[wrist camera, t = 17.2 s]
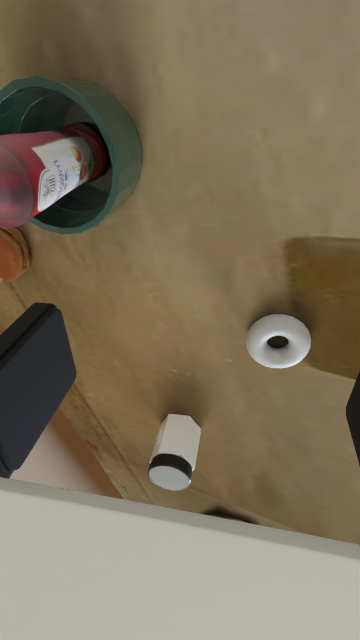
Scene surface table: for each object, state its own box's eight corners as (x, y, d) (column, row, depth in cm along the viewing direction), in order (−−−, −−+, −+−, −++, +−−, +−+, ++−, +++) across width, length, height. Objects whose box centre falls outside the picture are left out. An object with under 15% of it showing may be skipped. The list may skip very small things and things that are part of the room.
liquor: (60, 111, 42) (-174, 136, 19) (116, 132, 42) (-50, 183, 19) (55, 171, 46) (-141, 250, 23) (106, 190, 46) (-40, 287, 24)
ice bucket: (47, 49, 39) (-4, 40, 31) (164, 127, 41) (142, 135, 34) (19, 173, 48) (-26, 189, 40) (116, 231, 50) (91, 257, 42)
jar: (172, 406, 70) (158, 458, 60) (207, 423, 70) (198, 477, 61) (155, 429, 75) (140, 479, 65) (188, 444, 76) (177, 496, 66)
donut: (263, 299, 52) (235, 345, 58) (264, 311, 49) (234, 358, 55) (322, 324, 53) (288, 367, 58) (326, 337, 50) (290, 381, 55)
